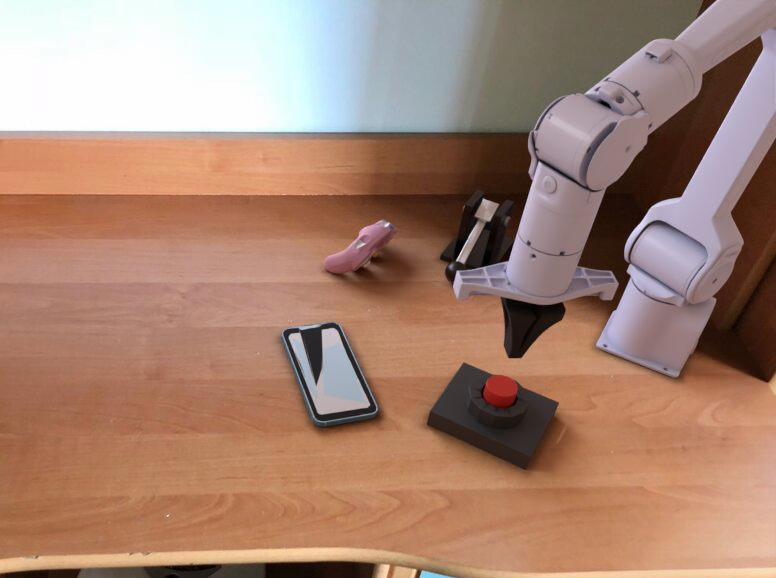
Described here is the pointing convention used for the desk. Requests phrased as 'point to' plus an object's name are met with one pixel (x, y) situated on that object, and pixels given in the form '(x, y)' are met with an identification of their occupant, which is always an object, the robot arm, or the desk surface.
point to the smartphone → (328, 374)
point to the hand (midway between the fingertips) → (512, 351)
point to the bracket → (490, 242)
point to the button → (500, 391)
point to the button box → (492, 417)
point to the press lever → (473, 237)
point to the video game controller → (361, 248)
